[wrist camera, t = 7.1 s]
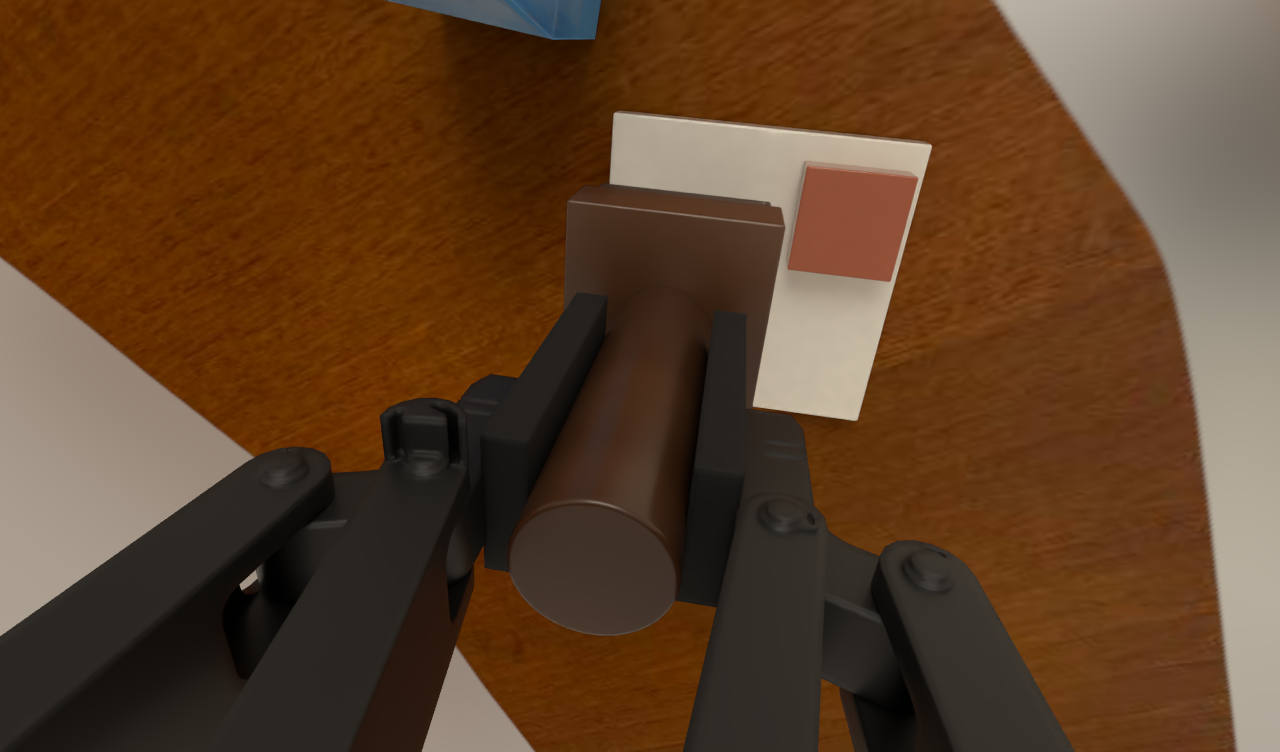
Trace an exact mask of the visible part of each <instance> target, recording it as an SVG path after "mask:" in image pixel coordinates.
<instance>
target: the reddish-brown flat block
mask: <svg viewBox="0 0 1280 752" xmlns="http://www.w3.org/2000/svg"><path fill="white" fill-rule="evenodd" d="M917 182H918V177H917V176H916V175H914V174H913V173H912V172H909V171H900V170H890V169H881V168H871V167H862V166H852V165H843V164H833V163H824V162H815V161H805V162H804V167H803V173H802V178H801V183H800V188H799V194H798V199H797V204H796V210H795V215H794V220H793V225H792V231H791V236H790V241H789V247H788V252H787V257H786V263H787V268H788V270H794V271H802V272H811V273H819V274H827V275H835V276H844V277H852V278H860V279H868V280H877V281H885V282H890V281H891V279H892V275H893V271H894V268H895V264H896V260H897V256H898V253H899V249H900V245H901V242H902V238H903V234H904V230H905V227H906V223H907V219H908V216H909V212H910V208H911V204H912V201H913V197H914V193H915V190H916V186H917Z"/></svg>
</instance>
